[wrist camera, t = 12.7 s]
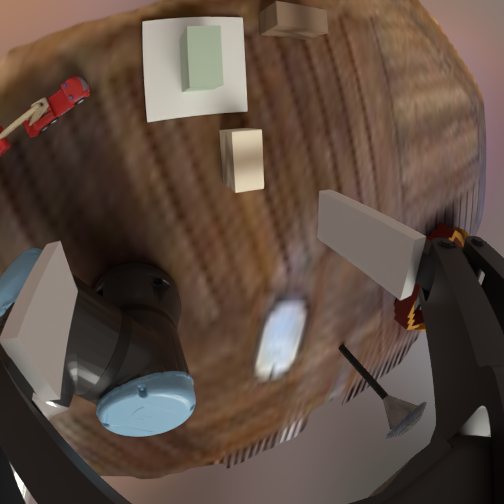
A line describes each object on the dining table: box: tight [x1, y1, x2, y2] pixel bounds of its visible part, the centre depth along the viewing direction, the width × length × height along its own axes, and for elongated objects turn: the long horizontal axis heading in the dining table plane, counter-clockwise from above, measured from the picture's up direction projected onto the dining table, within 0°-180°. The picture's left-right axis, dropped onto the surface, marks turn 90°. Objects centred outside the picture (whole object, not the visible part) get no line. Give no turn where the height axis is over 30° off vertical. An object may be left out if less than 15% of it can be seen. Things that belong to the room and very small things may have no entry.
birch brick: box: [219, 128, 264, 193], centre depth 39 cm, size 8×4×6 cm, turn 2°
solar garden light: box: [339, 345, 426, 439], centre depth 60 cm, size 12×12×30 cm
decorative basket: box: [394, 222, 469, 331], centre depth 70 cm, size 34×29×15 cm
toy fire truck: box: [0, 76, 90, 157], centre depth 24 cm, size 3×14×10 cm, turn 114°
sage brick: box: [180, 26, 224, 92], centre depth 30 cm, size 8×4×6 cm, turn 2°
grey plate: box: [142, 17, 247, 122], centre depth 33 cm, size 15×14×1 cm
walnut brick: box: [259, 1, 328, 40], centre depth 32 cm, size 8×4×6 cm, turn 92°
